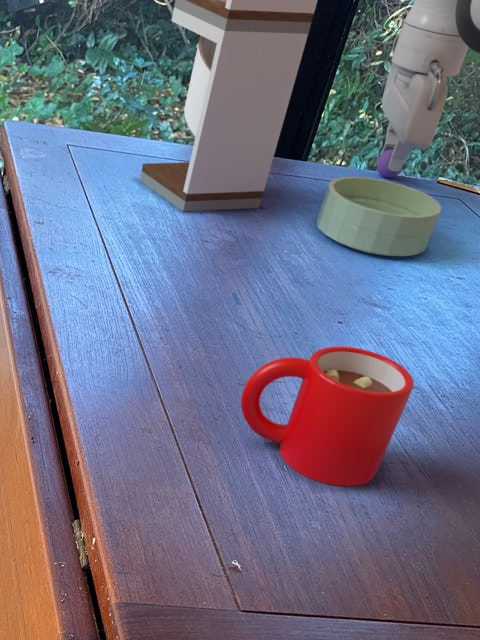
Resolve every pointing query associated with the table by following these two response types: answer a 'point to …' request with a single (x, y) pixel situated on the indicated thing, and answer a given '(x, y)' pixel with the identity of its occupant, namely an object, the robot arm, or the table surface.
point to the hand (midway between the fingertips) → (390, 164)
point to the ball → (385, 165)
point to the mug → (333, 412)
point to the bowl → (378, 216)
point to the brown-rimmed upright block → (234, 99)
